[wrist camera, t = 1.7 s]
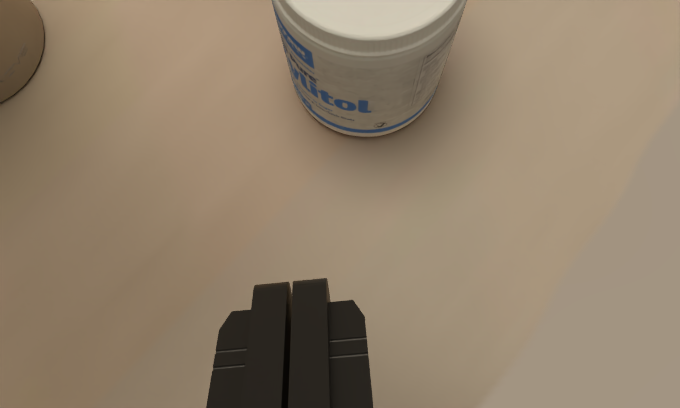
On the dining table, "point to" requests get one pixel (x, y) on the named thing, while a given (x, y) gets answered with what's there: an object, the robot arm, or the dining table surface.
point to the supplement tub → (367, 58)
